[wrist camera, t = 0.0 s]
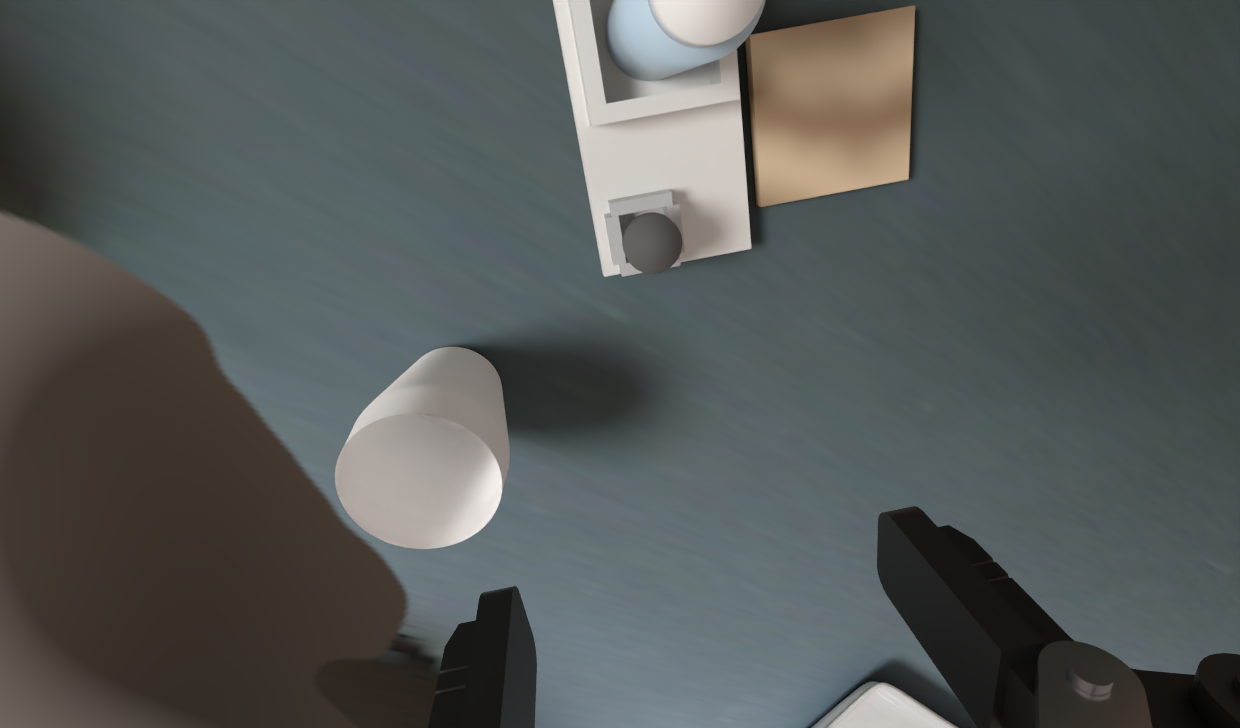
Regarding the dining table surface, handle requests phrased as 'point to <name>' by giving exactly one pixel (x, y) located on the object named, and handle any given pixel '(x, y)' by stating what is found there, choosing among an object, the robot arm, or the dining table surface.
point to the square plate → (881, 710)
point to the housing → (655, 144)
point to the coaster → (831, 105)
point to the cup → (428, 453)
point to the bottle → (676, 33)
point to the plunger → (652, 243)
